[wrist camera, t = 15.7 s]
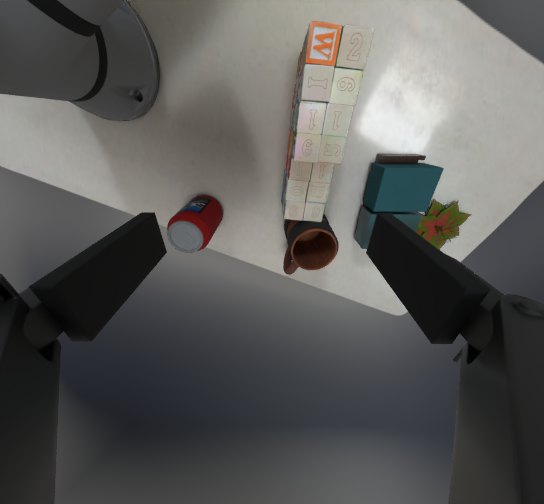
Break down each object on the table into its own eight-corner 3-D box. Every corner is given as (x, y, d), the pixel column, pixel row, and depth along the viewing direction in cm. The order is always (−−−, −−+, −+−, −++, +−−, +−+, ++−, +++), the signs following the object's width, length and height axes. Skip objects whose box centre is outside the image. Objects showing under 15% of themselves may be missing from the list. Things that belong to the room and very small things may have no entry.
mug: (267, 241, 45) (265, 272, 35) (300, 194, 40) (309, 214, 30) (299, 259, 47) (306, 294, 37) (334, 218, 42) (353, 244, 32)
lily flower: (437, 256, 47) (451, 268, 43) (392, 240, 45) (403, 251, 41) (480, 208, 41) (502, 217, 37) (431, 188, 39) (449, 194, 35)
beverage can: (203, 186, 40) (178, 207, 29) (230, 211, 42) (216, 238, 32) (183, 210, 42) (153, 237, 32) (210, 232, 44) (191, 263, 34)
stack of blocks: (312, 204, 41) (325, 231, 31) (280, 201, 41) (283, 227, 30) (341, 61, 30) (376, 26, 20) (298, 55, 30) (311, 17, 19)
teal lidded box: (371, 153, 36) (385, 158, 32) (422, 154, 36) (445, 158, 32) (351, 239, 45) (360, 253, 40) (393, 240, 45) (407, 253, 40)
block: (371, 163, 36) (384, 168, 32) (423, 163, 36) (443, 168, 32) (362, 202, 40) (373, 211, 36) (409, 202, 40) (426, 211, 35)
